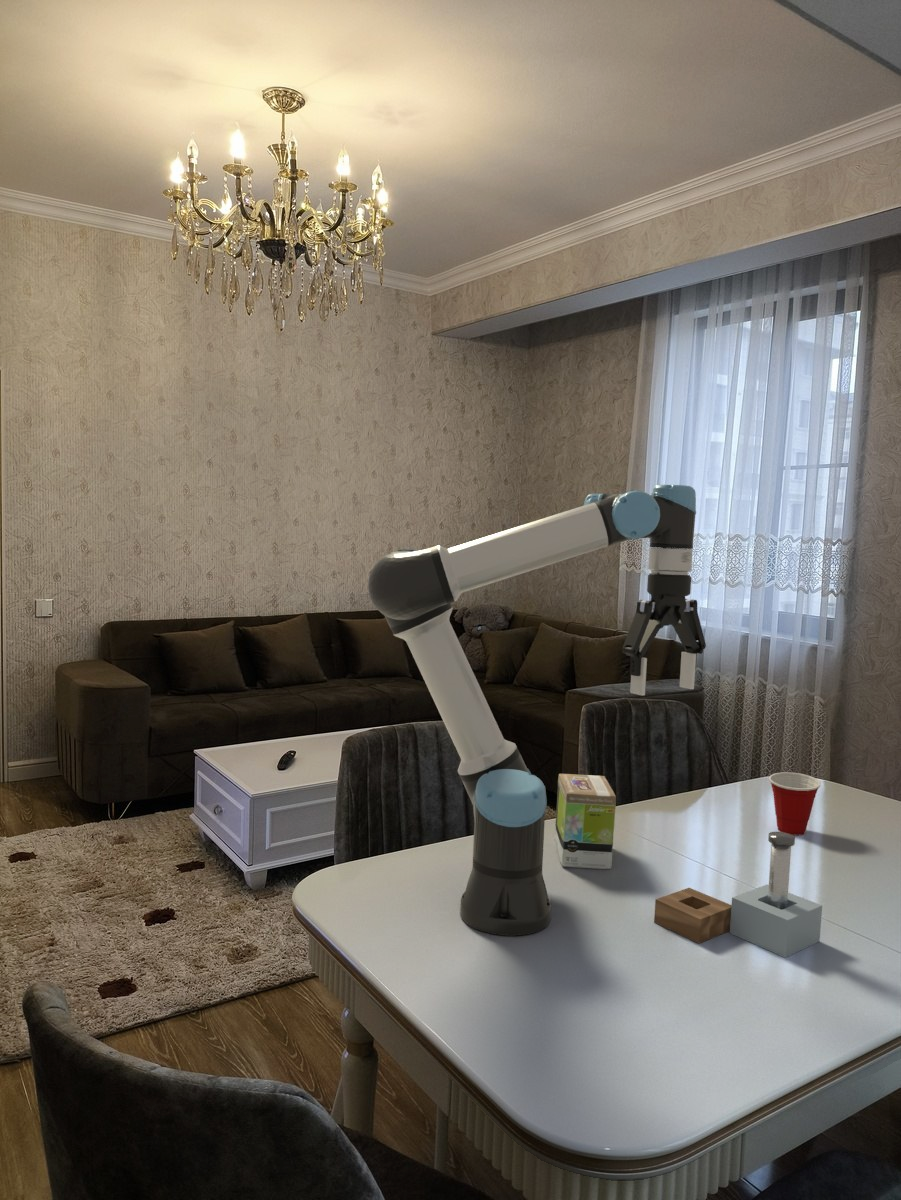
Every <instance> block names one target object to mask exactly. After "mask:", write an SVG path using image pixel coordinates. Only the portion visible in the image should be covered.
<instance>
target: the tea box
mask: <svg viewBox="0 0 901 1200" xmlns="http://www.w3.org/2000/svg"><path fill="white" fill-rule="evenodd" d="M556 796H557V797H556V807H555V809H556V812H555V814H556V815H555V828H554V842H555V846H556V850H557V853H558V856H559V857H558V858H559V860H560V864H561V867H564V868H565V867H566V868H576V869H577V868H578V869H580V868H581V869H595V870H597V869H598V870H610V869H611V868H612V863H613V862H612V861H613V846H614V834H615V832H614V831H615V819H616V805H617V796H616V794H615V791H614V790H613V788H612V786H611V784H610V783H609V781H608V780H607V778H606V776H605V775H592V774H590V775H589V774H575V773H573V774H572V773H559V774H558V779H557V794H556Z"/></svg>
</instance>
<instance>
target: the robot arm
mask: <svg viewBox="0 0 901 1200" xmlns="http://www.w3.org/2000/svg"><path fill="white" fill-rule="evenodd" d="M696 496H697V494H696V490H695V488H694V487H692V486H690V485H685V484H684V485H683V484H656V485H654V486H653V488H652V493H651V494H649V493H647V492H645V491H642V490H639V489H638V490H637V489H630V490H628V491H624V492H621V493H616V494H615V493H604V492H601V493H590V494H588V495H587V496H586V497H585V499H584V503H583V505H582V506H578V507H575V508H572V509H569V510H565V511H562V512H559V513H556V514H553V515H549V516H546V517H543V518H541V519H537V520H533V521H530V522H528V523H525V524H524V523H523V524H521V525H518V526H515V527H512V528H509V529H505V530H502V531H499V532H496V533H493V534H490V535H487V536H484V537H480V538H477V539H474V540H471V541H467V542H465V543H462V544H459V545H455V546H451V547H448V548H446V547H444V546H442V545H440V544H438V545H435V546H432V547H427V548H424V549H420V550H415V549H410V548H407V549H406V548H402V549H397V550H396V551H391V552H390V553H388V554H386V555H384V556H383V557H382V558H380V559H379V560H378V561H377V562H376V564H374V566H373V567H372V569H371V571H370V574H369V576H368V580H367V581H368V582H367V589H368V596H369V599H370V601H371V603H372V604H373V606H374V607H375V609H376V610H377V611H378V612H380V613H381V614H382V615H383V616H384V618H385V620H386V622H387V624H388V626H389V628H390V630H391V632H392V635H393V636H394V637H396V638H399V639H401V640H403V641H405V642H406V645H407V646H408V648H409V650H410V651H409V652H410V653H411V654H412V658H413V659H414V661H415V664H416V666H417V668H418V670H419V672H420V674H421V676H422V679H423V681H424V682H425V685H426V688H427V689H428V692H429V693H430V696H431V698H432V700H433V702H434V704H435V706H436V709H437V710H438V713H439V715H440V717H441V719H442V721H443V724H444V725H445V728H446V730H447V732H448V734H449V736H450V738H451V741H452V743H453V745H454V747H455V749H456V751H457V754H458V756H459V758H460V762H459V766H458V769H457V773H458V775H459V778H460V779H461V782H462V784H463V785H464V786H463V787H464V788H465V790H466V792H467V795H468V797H469V799H470V801H471V804H472V810H473V817H474V818H473V823H474V825H473V845H472V846H473V848H472V868H471V871H470V873H469V874H470V875H469V878H468V880H467V884H466V887H465V891H464V892H463V893H462V895H461V898H460V904H459V906H460V907H459V911H460V912H459V915H460V918H461V920H462V921H463V922H464V923H465V924H467V925H468V926H469V927H472V928H474V929H475V930H477V931H478V930H479V931H481V932H483V933H488V934H493V935H499V936H524V935H525V936H526V935H530V934H534V933H538V932H540V931H542V930H544V929H545V928H546V927H548V926H549V924H550V922H551V918H552V917H551V915H552V914H551V912H552V910H551V909H552V905H551V901H550V899H549V896H548V890H547V888H546V884H545V879H544V875H543V864H544V863H543V861H544V838H545V820H546V819H545V817H546V809H547V806H548V805H547V803H548V802H547V801H548V799H547V792H546V785H544V783H543V781H542V780H541V779H540V778H539V777H537V775H535V774H532V773H531V771H530V769H529V768H527V765H526V764H525V761H524V759H523V757H522V755H521V753H520V751H519V748H518V746H517V745H516V743H515V742H512V741H510V740H507V739H505V738H504V736H503V733H502V731H501V730H500V728H499V725H498V722H497V721H496V719H495V717H494V714H493V712H492V710H491V708H490V706H489V704H488V701H487V699H486V697H485V695H484V692H483V691H482V688H481V686H480V683H479V682H478V679H477V678H476V675H475V673H474V671H473V670H472V667H471V665H470V663H469V660H468V658H467V656H466V654H465V651H464V650H463V648H462V645H461V643H460V640H459V639H458V636H457V634H456V632H455V630H454V628H453V625H452V624H451V622H450V617H451V614H452V612H453V605H452V603H455V602H457V601H458V599H459V598H460V596H461V594H463V593H466V592H468V591H473V590H475V589H477V588H481V587H485V586H488V585H491V584H494V583H497V582H500V581H502V580H503V581H504V580H506V579H510V578H513V577H515V576H518V575H521V574H524V573H525V574H526V573H528V572H532V571H533V570H537V569H538V570H539V569H540V568H543V567H547V566H549V565H553V564H557V563H558V562H559V563H560V562H562V561H565V560H568V559H572V558H574V557H578V556H580V555H585V554H587V553H591V552H594V551H597V550H600V549H603V548H606V547H609V546H614V545H617V544H620V543H623V542H627V541H629V540H630V541H631V540H640V539H649V550H648V563H647V569H648V570H649V571H650V573H648V575H647V587H646V591H647V594H649V595H650V599H649V600H645V599H639V600H637V603H636V610H635V611H636V612H635V615H634V617H633V620H632V622H631V625H630V628H629V630H628V632H627V635H626V638H625V640H624V643H623V646H622V648H621V652H622V653H623V654H625V655H626V656H629V657H630V662H629V663H630V664H629V673H630V674H629V675H630V687H629V688H630V689H629V692H630V694H634V695H638V696H645V695H646V681H647V665H648V663H647V662H648V658H647V657H645V654H646V653H647V651H648V649H649V648H650V646H651V644H652V643H653V641H654V639H655V638H656V636H657V635H658V632H659V631H660V630H661V629H662V628H664V627H665V626H670V625H671V626H672V627H673V629H674V631H675V633H676V634H677V636H678V639H679V641H680V643H681V644H682V647H683V649H684V651H681V653H680V654H681V658H680V671H679V672H680V674H679V686H678V687H679V688H682V689H686V690H687V689H688V690H694V689H695V678H696V671H697V670H696V669H697V659H698V654H699V655H700V654H703V653H704V650H705V649H706V647H707V643H706V640H705V636H704V633H703V632H704V631H703V628H702V624H701V620H700V617H699V616H700V615H699V612H698V600H697V599H692V598H686V597H688V596H690V595H691V591H692V576H691V574H689V573H690V572H692V570H693V569H692V567H693V552H694V550H693V548H694V539H695V538H694V537H695V523H696V514H697V510H696V509H697V505H696V503H697V501H696V500H697V498H696Z"/></svg>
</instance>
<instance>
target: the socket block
mask: <svg viewBox="0 0 901 1200" xmlns="http://www.w3.org/2000/svg"><path fill="white" fill-rule="evenodd" d="M768 888H769V884H765V885H762V886H759V887H756V888H754V889H750V890H749V891H745V892H743V893H740V894H738V895H735V896H732V897H731V905H732V906H731V921H730V931H729V934H730V935H733V936H735V937H738V938H740V939H743V940H744V941H747V942H749V943H752V944H753V945H756V946H758V947H760V948H762V949H765V950H767V951H770V952H772V953H774V954H776V955H777V956H778V955H779V956H780V957H783V958H787V957H790V956H792V955H794V954H796V953H798V952H800V951H802V950H804V949H806V948H808V947H810V946H813V945H815V944H817V943H819V942H820V940H821V928H822V915H823V913H822V912H823V905H822V904H819V903H817V902H814V901H811V900H809V899H806V898H804V897H801V896H798V895H795V894H794V893H791V892H788V902H787V908H785V909H783V910H781V909H778V908H776V907H773V906H771V905H768Z"/></svg>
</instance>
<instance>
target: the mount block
mask: <svg viewBox="0 0 901 1200" xmlns="http://www.w3.org/2000/svg"><path fill="white" fill-rule="evenodd" d="M731 906H732V904H730V903H727V902H725V901H722V900H720V899H718V898H715V897H713V896H710V895H707V894H706V893H704V892H702V891H701V892H700V891H699V890H696V889H694V888H691V887H687V888H683V889H680V890H678V891H676V892H673V893H669V894H666V895H664V896H661V897H658V898H655V901H654V917H653V923H654V924H657V925H659V926H661V927H663V928H665V929H667V930H669V931H672V932H674V933H676V934H677V935H680V936H682V937H684V938H686V939H689V940H691V941H693V942H695V943H697V944H701V943H703V942H705V941H709V940H711V939H714V938H715V937H718V936H720V935H723V934H725V933H727V932H730V921H731Z"/></svg>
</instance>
